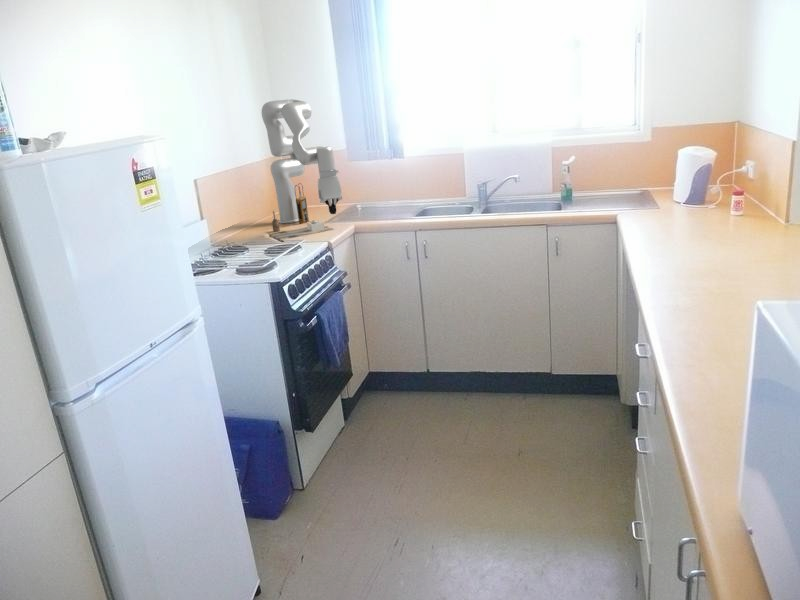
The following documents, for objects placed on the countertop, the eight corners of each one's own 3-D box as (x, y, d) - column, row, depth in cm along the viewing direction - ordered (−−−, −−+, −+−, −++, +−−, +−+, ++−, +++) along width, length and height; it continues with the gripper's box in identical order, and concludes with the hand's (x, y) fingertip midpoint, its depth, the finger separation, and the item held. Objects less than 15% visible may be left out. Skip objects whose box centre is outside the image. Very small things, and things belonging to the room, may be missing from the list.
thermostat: (307, 229, 310) (306, 222, 309) (319, 227, 313) (318, 220, 312) (312, 231, 305) (311, 224, 304) (324, 228, 307) (323, 222, 306)
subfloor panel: (269, 236, 308) (269, 233, 308) (321, 226, 319) (321, 224, 319) (281, 242, 293) (281, 239, 293) (335, 231, 304) (335, 229, 304)
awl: (273, 233, 314) (269, 211, 311) (279, 232, 316) (275, 210, 313) (275, 234, 312) (271, 211, 309) (281, 233, 313) (277, 210, 310)
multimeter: (315, 225, 323) (310, 184, 317) (296, 227, 326) (290, 186, 320) (325, 219, 337) (320, 180, 331) (306, 221, 339) (301, 181, 333)
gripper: (339, 171, 312) (344, 210, 317) (309, 176, 305) (315, 215, 310) (345, 172, 305) (350, 211, 310) (315, 177, 299) (321, 217, 304)
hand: (333, 213), depth 310 cm, fingers closed
